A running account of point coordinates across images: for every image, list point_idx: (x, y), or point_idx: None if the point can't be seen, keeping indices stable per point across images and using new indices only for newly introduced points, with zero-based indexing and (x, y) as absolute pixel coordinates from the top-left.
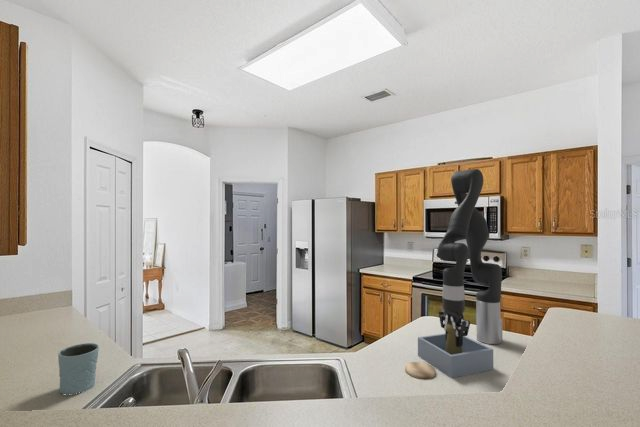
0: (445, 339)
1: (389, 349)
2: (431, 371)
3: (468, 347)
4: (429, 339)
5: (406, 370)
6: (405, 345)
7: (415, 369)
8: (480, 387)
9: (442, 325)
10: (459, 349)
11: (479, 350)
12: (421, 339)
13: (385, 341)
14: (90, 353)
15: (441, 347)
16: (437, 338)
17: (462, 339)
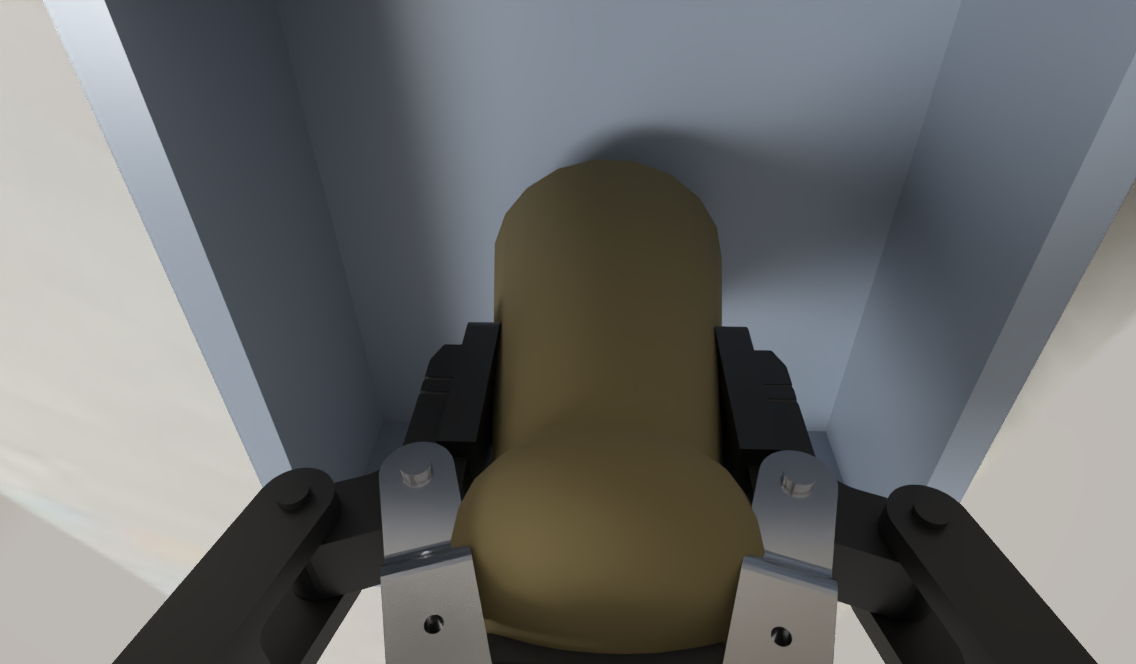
0: (244, 195)
1: (218, 527)
2: None
3: None
4: (314, 458)
5: None
6: (110, 393)
7: None
8: (1106, 342)
9: (342, 603)
10: (721, 324)
11: (1070, 224)
12: (379, 584)
13: (24, 484)
14: None
15: (309, 210)
16: (278, 353)
17: (807, 433)
